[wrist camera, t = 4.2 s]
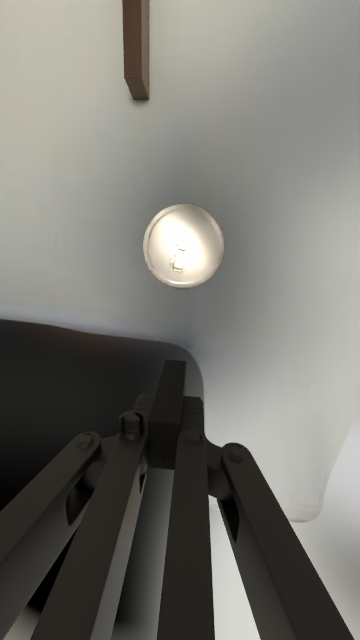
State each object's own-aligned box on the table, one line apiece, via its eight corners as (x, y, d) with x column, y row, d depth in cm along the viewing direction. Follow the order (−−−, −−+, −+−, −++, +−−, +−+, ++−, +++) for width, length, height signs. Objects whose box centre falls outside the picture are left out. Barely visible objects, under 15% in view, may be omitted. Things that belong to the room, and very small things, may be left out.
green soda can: (206, 279, 27) (213, 299, 15) (160, 268, 27) (132, 280, 15) (219, 229, 25) (237, 211, 14) (170, 218, 25) (147, 190, 14)
